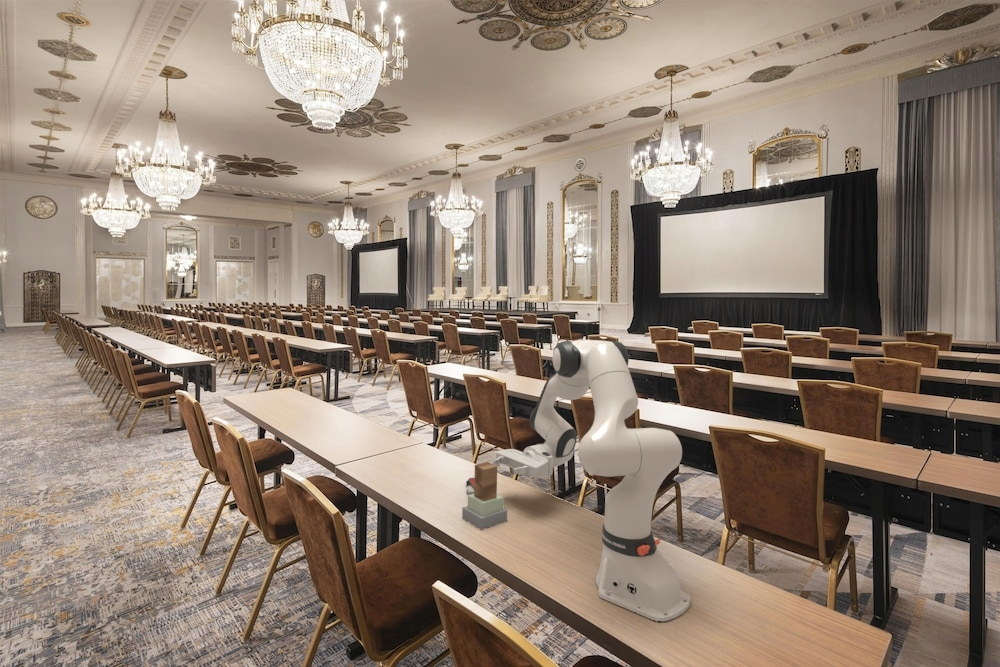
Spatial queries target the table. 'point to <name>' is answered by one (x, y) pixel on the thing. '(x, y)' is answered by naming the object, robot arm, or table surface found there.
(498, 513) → the tower base block
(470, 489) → the walkie-talkie
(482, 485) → the walnut pillar
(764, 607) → the table surface
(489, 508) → the tower top block
